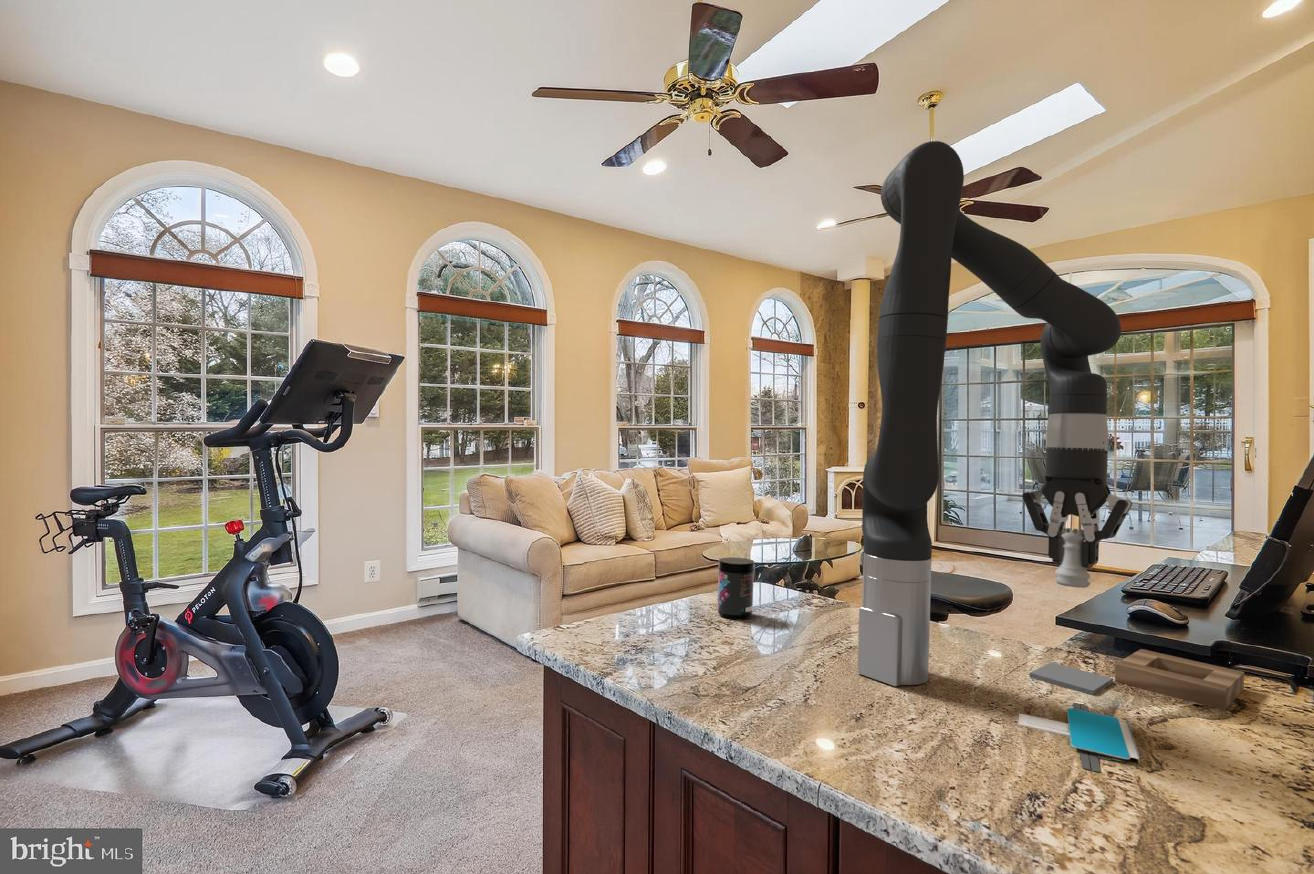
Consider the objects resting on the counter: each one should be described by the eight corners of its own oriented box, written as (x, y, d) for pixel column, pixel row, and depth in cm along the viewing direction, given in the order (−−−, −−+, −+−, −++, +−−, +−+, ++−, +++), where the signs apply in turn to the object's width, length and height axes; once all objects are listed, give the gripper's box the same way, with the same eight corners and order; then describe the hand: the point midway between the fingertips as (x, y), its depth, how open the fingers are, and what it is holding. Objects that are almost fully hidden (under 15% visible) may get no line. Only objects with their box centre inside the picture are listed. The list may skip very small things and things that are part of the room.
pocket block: (1224, 710, 82) (1225, 690, 82) (1115, 681, 92) (1115, 663, 92) (1243, 689, 90) (1244, 672, 90) (1140, 664, 99) (1141, 648, 99)
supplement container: (727, 608, 126) (728, 556, 126) (758, 614, 122) (760, 560, 122) (710, 615, 120) (712, 560, 120) (743, 622, 116) (744, 565, 116)
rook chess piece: (1096, 589, 89) (1098, 532, 89) (1061, 586, 90) (1063, 530, 90) (1082, 582, 94) (1083, 528, 94) (1048, 580, 95) (1050, 526, 95)
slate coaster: (1093, 695, 86) (1093, 690, 86) (1029, 676, 92) (1029, 672, 92) (1112, 682, 91) (1112, 678, 91) (1051, 666, 97) (1051, 662, 97)
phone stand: (1020, 697, 86) (1021, 685, 86) (1129, 719, 80) (1129, 706, 80) (1016, 758, 69) (1016, 742, 69) (1154, 792, 63) (1155, 775, 63)
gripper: (1013, 444, 95) (1010, 559, 95) (1126, 446, 84) (1122, 576, 84) (1033, 445, 100) (1030, 554, 100) (1143, 447, 89) (1140, 571, 89)
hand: (1072, 564), depth 92 cm, fingers closed on rook chess piece, 3 cm apart
